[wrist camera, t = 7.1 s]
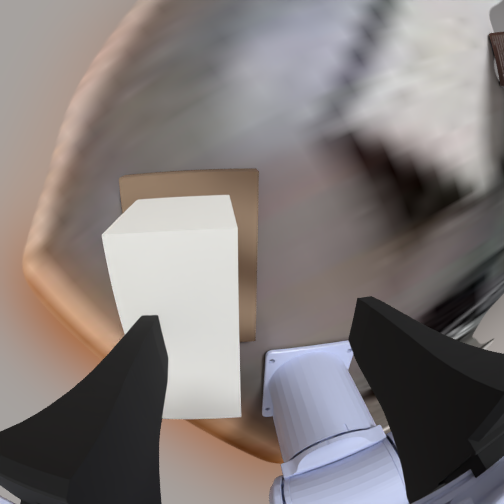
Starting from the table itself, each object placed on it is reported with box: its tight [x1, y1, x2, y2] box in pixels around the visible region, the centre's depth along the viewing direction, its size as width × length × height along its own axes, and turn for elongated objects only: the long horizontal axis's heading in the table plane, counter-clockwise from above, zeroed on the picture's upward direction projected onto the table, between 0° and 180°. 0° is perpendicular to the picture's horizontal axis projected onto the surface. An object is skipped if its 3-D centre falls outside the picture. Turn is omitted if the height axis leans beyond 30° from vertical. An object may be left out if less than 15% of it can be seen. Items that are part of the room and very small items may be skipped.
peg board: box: [119, 169, 259, 342], centre depth 17 cm, size 12×8×4 cm, turn 179°
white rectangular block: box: [102, 195, 241, 419], centre depth 13 cm, size 10×4×5 cm, turn 179°
